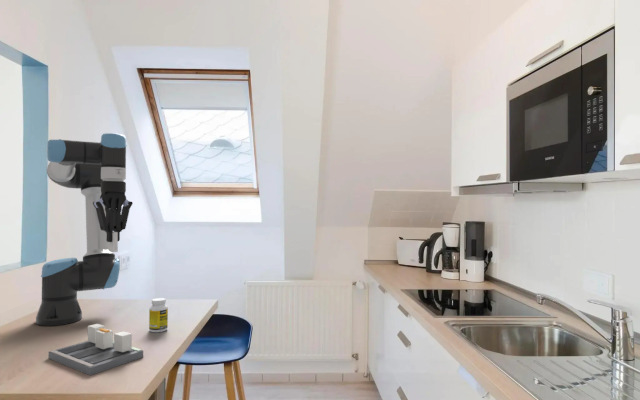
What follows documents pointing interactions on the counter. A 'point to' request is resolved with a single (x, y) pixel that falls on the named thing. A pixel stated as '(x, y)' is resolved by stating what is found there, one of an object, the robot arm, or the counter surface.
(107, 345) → the breaker mid
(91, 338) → the breaker far
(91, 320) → the counter surface
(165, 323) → the pill bottle
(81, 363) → the panel
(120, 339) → the block
